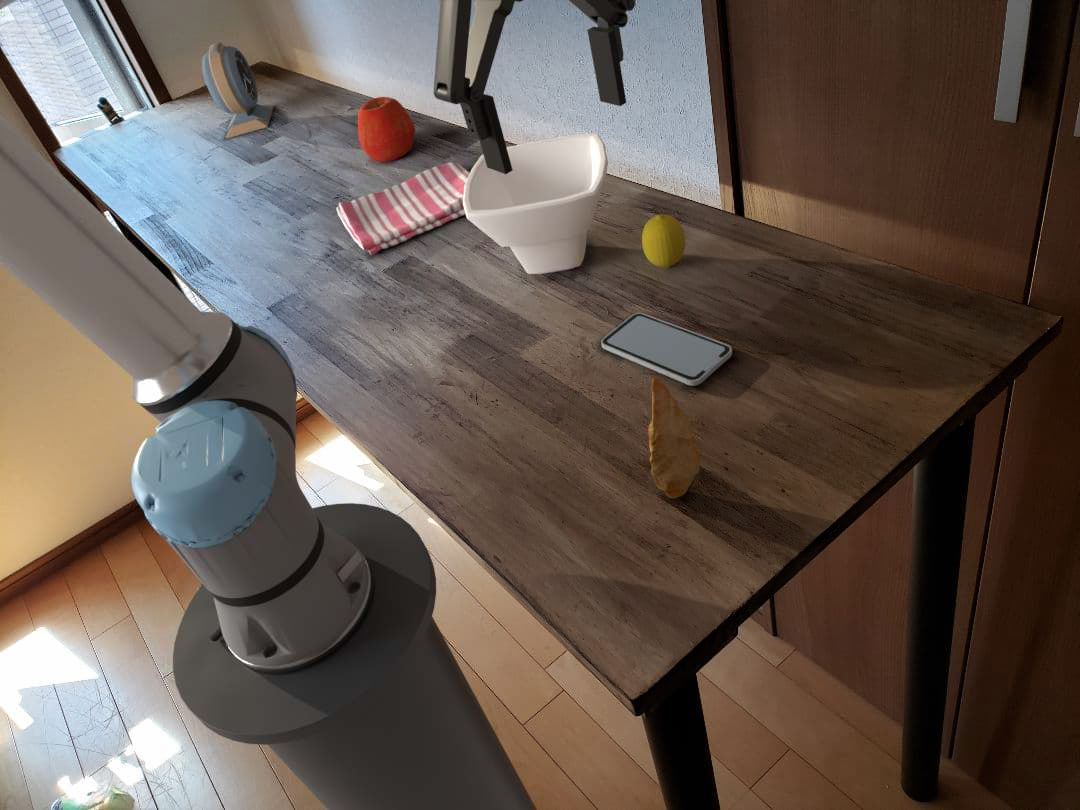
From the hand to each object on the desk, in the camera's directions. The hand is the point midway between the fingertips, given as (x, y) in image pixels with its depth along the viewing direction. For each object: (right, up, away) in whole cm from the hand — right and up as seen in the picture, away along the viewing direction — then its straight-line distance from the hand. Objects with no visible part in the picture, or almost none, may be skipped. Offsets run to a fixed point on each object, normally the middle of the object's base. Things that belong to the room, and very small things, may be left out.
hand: (558, 134), depth 74 cm
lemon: (+15, -6, +37) cm, 41 cm away
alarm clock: (-68, +41, +118) cm, 142 cm away
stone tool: (+12, -33, +8) cm, 36 cm away
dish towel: (-22, +8, +66) cm, 70 cm away
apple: (-30, +24, +86) cm, 95 cm away
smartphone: (+13, -18, +25) cm, 33 cm away
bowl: (+1, -4, +45) cm, 45 cm away
